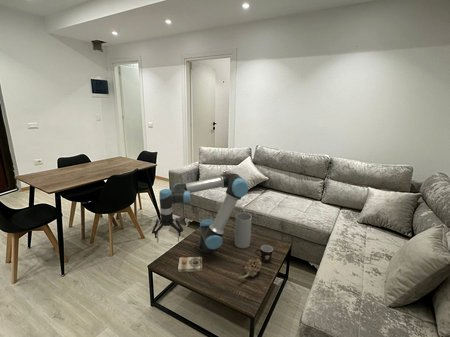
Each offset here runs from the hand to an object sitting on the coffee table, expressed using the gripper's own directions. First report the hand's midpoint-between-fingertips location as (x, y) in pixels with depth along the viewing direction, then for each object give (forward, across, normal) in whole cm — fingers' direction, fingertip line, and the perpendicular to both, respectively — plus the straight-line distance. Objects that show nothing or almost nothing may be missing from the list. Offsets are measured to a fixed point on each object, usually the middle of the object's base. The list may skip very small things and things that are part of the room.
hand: (168, 241), depth 162 cm
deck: (+19, -14, +2) cm, 24 cm away
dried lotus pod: (+20, -53, +17) cm, 59 cm away
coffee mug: (+20, -68, +1) cm, 71 cm away
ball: (+15, -10, +2) cm, 18 cm away
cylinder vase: (+20, -56, -19) cm, 62 cm away
